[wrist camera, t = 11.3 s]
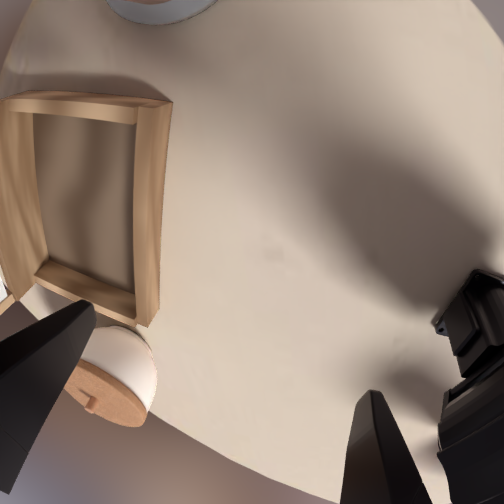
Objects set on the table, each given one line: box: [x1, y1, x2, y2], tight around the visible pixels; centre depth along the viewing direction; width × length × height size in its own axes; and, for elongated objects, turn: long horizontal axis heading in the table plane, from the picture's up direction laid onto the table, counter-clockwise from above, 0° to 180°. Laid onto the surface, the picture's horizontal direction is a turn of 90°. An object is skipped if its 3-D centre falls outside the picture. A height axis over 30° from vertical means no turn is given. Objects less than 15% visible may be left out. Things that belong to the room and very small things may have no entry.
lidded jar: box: [64, 325, 157, 427], centre depth 29 cm, size 11×11×9 cm
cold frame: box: [0, 91, 173, 328], centre depth 21 cm, size 14×18×6 cm
